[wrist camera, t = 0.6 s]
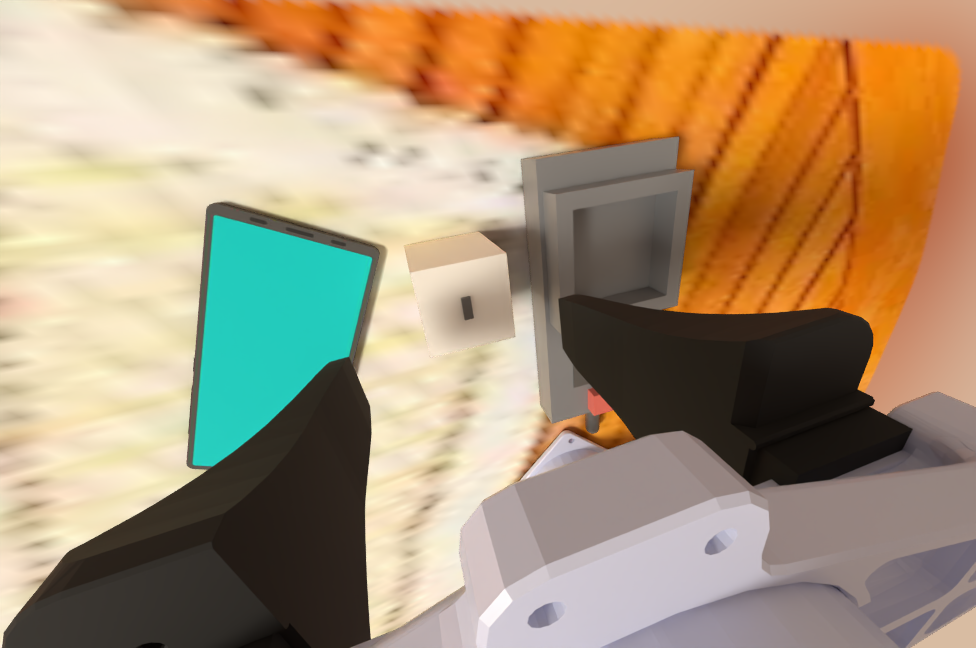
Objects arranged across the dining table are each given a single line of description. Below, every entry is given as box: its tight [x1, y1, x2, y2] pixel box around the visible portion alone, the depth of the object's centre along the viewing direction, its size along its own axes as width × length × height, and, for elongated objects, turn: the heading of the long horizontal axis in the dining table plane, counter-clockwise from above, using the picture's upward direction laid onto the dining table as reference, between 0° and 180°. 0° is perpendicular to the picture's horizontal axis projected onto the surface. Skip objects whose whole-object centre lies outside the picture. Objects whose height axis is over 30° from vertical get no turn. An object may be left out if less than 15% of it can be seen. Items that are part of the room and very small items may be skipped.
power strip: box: [521, 137, 694, 434], centre depth 21 cm, size 20×8×4 cm, turn 8°
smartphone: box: [187, 203, 379, 470], centre depth 19 cm, size 7×1×15 cm
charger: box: [404, 231, 515, 358], centre depth 17 cm, size 4×4×5 cm
